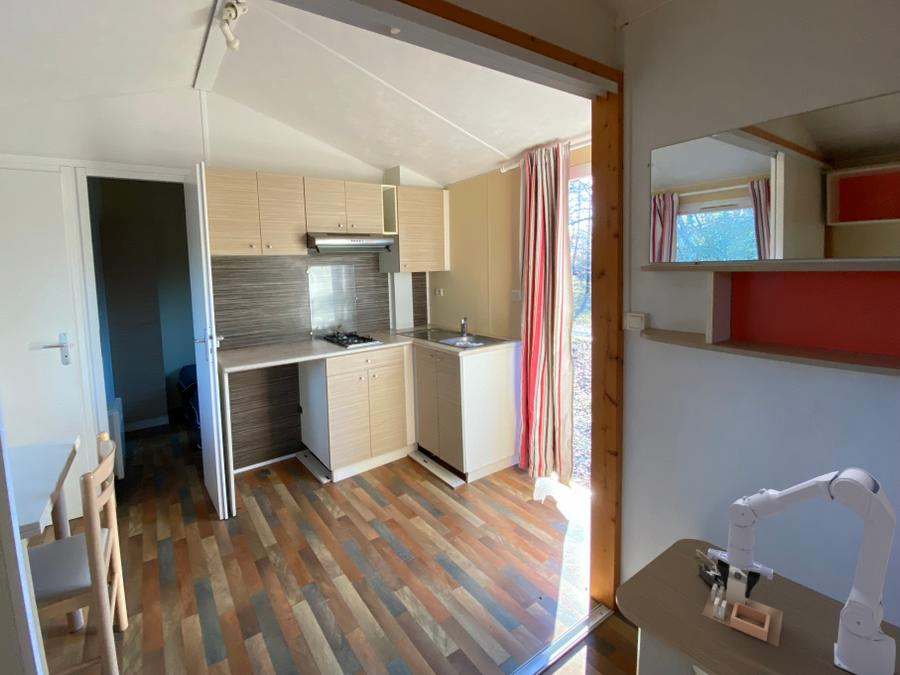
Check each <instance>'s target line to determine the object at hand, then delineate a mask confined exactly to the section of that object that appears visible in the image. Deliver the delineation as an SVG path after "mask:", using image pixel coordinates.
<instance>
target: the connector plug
mask: <svg viewBox="0 0 900 675" xmlns="http://www.w3.org/2000/svg"><path fill="white" fill-rule="evenodd" d="M747 576H748V575H746V576H744V575H742V574H741V573H739V572H733V571H730V573H729V576H728V582H727V593H726V601H727V603H729V604H732V605H735V602H739V603H741V604H744V605H745V601H746V598H745V596H746V590H747Z"/></svg>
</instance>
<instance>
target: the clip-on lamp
mask: <svg viewBox="0 0 900 675" xmlns="http://www.w3.org/2000/svg"><path fill="white" fill-rule="evenodd" d="M695 552H696V554H697V556H698V557H699V559H702V557H701V556H700V554H701V555H703V556H704V557H705V558H707V557H708V555H706V554H705V553H703V552H702V551H700V550H699V549H697V548H696V549H695ZM707 559H708V560H709V561H710V562H711V563H712V564H713V565H712V569H711V568H710V567H709V565H708V564H707V563H704V564H703V565H702V564H698V572H699V573H698V574H699V576H700V577H701V578H702V579H703V580H704V581H706V583H707V584H710V585H711V586H712V587H713V585H714V583H715V584H717V585H721V586H724V584H723V580H722V577H721V574H720V572H718V570H717V569H718V568H717V564H715V562H714V561H713V560H712V559H709V558H707ZM703 566H704V568H703ZM713 569H714V570H713ZM730 571H733V572H739V573H741V574H742V575H744V576H747V575H746V574H745V573H744V572H743V570H742V569H738V568H736V567H733V566H731V565H730V569H729V573H730Z"/></svg>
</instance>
